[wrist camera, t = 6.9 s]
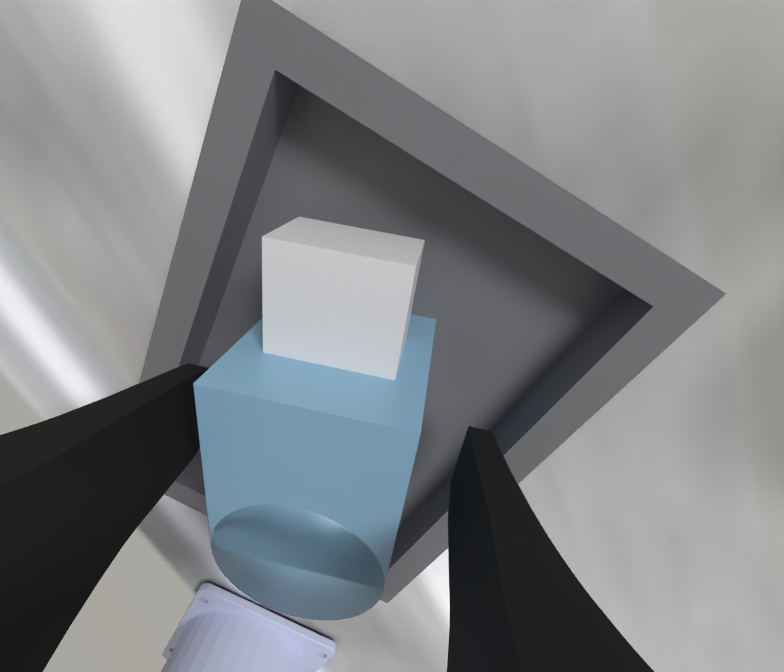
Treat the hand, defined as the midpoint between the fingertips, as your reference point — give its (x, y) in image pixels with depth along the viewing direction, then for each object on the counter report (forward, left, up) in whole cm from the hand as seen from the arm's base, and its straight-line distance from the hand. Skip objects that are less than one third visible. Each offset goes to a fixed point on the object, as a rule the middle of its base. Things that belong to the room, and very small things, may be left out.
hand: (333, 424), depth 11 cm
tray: (0, 0, -3) cm, 3 cm away
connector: (0, 0, -2) cm, 2 cm away
